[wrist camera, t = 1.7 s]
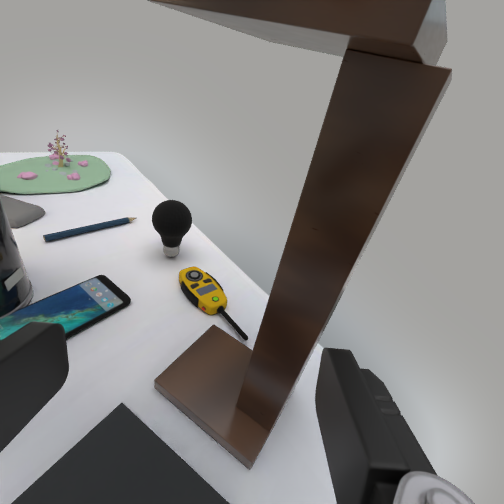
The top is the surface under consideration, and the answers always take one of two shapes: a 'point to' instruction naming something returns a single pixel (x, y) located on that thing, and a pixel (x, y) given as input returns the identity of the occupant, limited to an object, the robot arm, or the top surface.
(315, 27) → the wooden headphone stand
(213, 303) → the yellow walkie talkie
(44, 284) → the top surface
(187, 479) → the mat
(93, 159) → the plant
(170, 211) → the light bulb
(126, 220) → the pencil
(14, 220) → the cell phone
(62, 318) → the smartphone
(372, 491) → the robot arm
